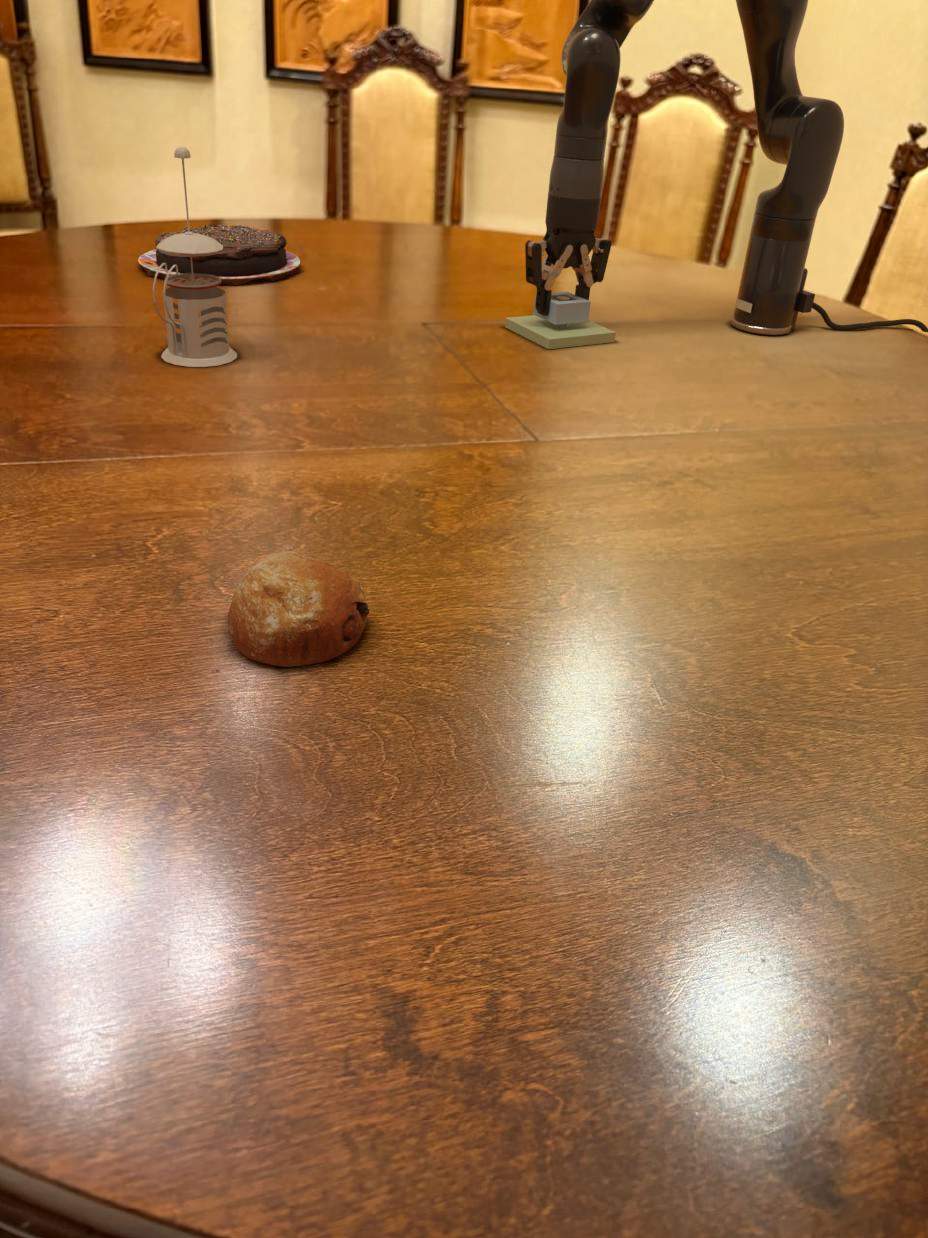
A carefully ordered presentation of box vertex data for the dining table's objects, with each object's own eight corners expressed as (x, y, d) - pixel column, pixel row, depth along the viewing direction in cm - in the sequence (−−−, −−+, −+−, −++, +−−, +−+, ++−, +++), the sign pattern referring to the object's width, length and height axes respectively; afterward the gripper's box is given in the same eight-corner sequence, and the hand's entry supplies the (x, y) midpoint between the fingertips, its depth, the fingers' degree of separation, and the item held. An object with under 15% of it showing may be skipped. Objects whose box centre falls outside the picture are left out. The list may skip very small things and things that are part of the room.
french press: (252, 352, 130) (240, 147, 117) (197, 375, 121) (178, 155, 108) (193, 340, 134) (175, 139, 120) (135, 361, 125) (109, 146, 111)
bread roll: (264, 635, 79) (214, 556, 74) (379, 589, 77) (335, 506, 73) (251, 709, 70) (194, 625, 66) (380, 659, 69) (330, 570, 65)
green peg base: (568, 321, 154) (573, 285, 151) (614, 342, 146) (619, 304, 143) (504, 327, 149) (507, 290, 146) (548, 349, 140) (552, 310, 137)
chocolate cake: (103, 270, 164) (98, 229, 161) (201, 244, 187) (198, 207, 183) (245, 294, 156) (242, 251, 153) (329, 264, 179) (329, 226, 175)
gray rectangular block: (565, 311, 149) (567, 291, 148) (588, 321, 145) (591, 301, 143) (533, 314, 147) (535, 294, 145) (555, 324, 142) (557, 303, 141)
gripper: (547, 197, 131) (535, 323, 139) (631, 195, 137) (614, 315, 146) (517, 188, 136) (507, 310, 145) (600, 187, 143) (585, 303, 151)
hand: (561, 312), depth 145 cm, fingers closed on gray rectangular block, 6 cm apart
